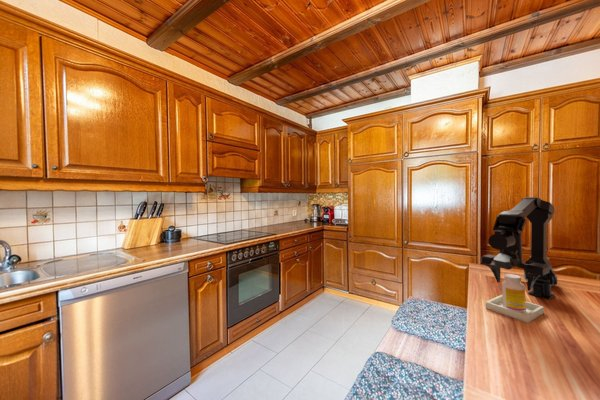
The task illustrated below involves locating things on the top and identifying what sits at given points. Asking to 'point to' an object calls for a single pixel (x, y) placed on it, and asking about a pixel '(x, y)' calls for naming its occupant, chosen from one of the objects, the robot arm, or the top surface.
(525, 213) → the robot arm
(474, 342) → the top surface
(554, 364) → the top surface
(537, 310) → the tray
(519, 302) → the supplement bottle
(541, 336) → the top surface
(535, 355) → the top surface
